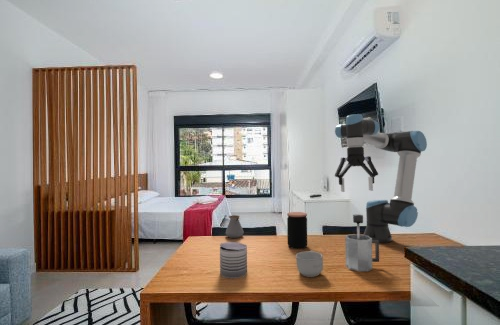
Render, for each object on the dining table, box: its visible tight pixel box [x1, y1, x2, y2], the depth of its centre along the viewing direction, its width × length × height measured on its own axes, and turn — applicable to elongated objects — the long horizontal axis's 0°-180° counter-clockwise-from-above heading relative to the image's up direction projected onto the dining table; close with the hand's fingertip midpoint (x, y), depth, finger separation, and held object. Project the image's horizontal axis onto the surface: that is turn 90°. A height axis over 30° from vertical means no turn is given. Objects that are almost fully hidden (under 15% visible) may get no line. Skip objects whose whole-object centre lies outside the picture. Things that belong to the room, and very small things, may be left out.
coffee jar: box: [286, 211, 308, 250], centre depth 153 cm, size 11×11×18 cm
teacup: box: [295, 250, 324, 278], centre depth 116 cm, size 14×11×8 cm
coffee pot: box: [225, 214, 245, 239], centre depth 171 cm, size 21×12×15 cm, turn 12°
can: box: [219, 241, 248, 279], centre depth 117 cm, size 11×11×12 cm
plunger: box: [352, 213, 364, 240], centre depth 122 cm, size 8×8×20 cm
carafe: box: [344, 233, 380, 273], centre depth 122 cm, size 14×10×13 cm
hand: (356, 191), depth 135 cm, fingers open, 13 cm apart
